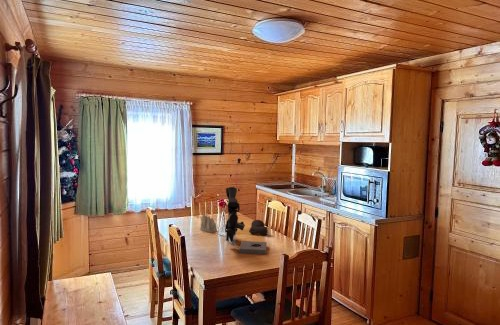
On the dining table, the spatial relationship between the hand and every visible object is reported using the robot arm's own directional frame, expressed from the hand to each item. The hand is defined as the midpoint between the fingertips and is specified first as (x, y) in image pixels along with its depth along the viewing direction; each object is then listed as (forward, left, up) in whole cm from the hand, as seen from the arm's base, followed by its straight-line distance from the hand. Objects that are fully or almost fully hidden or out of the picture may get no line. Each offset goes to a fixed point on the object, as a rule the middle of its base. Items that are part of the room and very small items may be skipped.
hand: (232, 240), depth 245 cm
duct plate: (+15, -1, -5) cm, 16 cm away
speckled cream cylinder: (0, 0, -2) cm, 2 cm away
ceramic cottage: (-25, +45, -6) cm, 52 cm away
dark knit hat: (+16, +42, -6) cm, 45 cm away
